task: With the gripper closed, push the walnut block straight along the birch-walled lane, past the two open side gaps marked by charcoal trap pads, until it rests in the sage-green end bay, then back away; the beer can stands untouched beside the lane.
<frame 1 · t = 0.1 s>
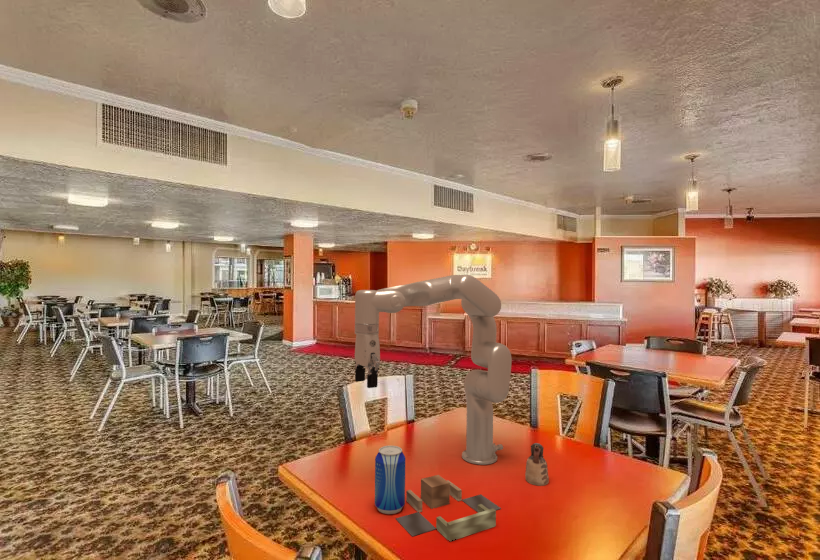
hand: (365, 384, 132), 31 cm above the table, tool pointing down, fingers open, 9 cm apart
figurine: (536, 481, 135), on the table
walnut block: (434, 502, 121), on the table
beer can: (389, 508, 117), on the table
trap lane: (449, 513, 115), on the table
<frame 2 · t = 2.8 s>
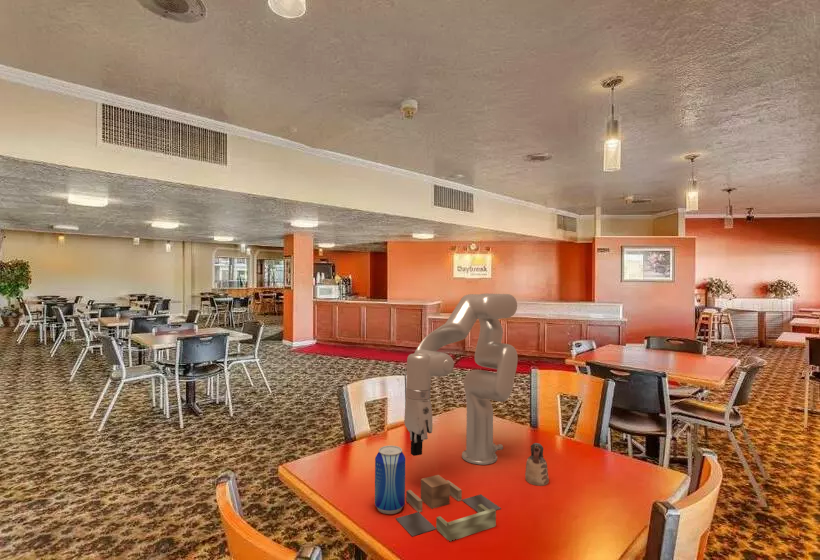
hand: (416, 454, 130), 10 cm above the table, tool pointing down, fingers closed
nothing on the table moved.
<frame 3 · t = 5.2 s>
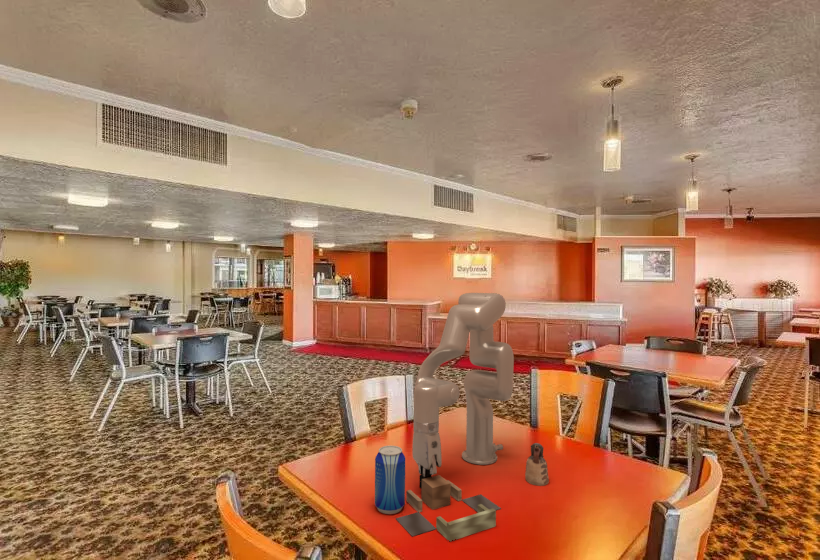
hand: (425, 488, 126), 2 cm above the table, tool pointing down, fingers closed
walnut block: (435, 502, 121), on the table, touching gripper
everything else where it was.
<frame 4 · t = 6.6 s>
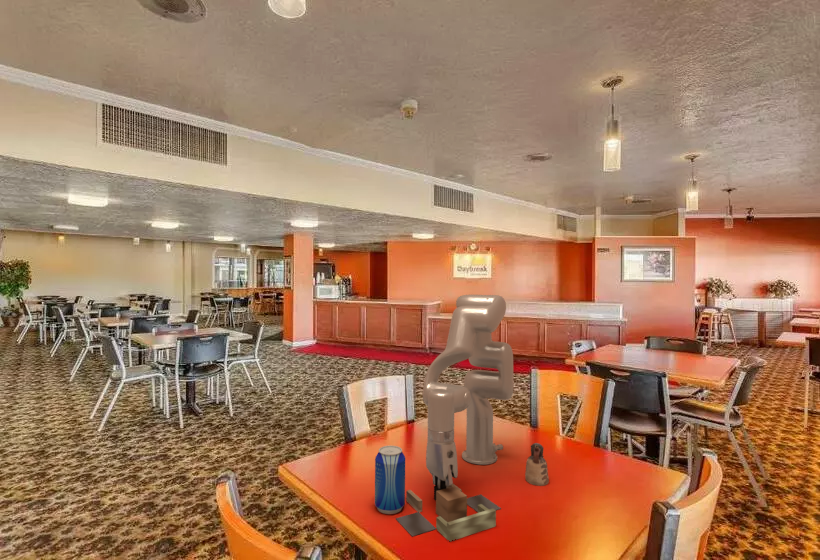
hand: (440, 500, 119), 2 cm above the table, tool pointing down, fingers closed
walnut block: (451, 515, 114), on the table, touching gripper
everything else where it was.
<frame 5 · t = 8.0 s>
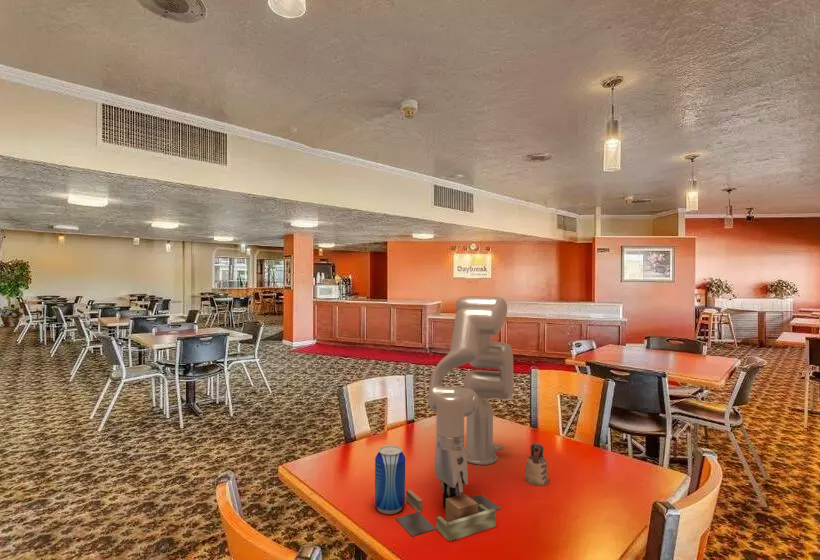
hand: (449, 507, 115), 2 cm above the table, tool pointing down, fingers closed
walnut block: (461, 524, 110), on the table, touching gripper
everything else where it was.
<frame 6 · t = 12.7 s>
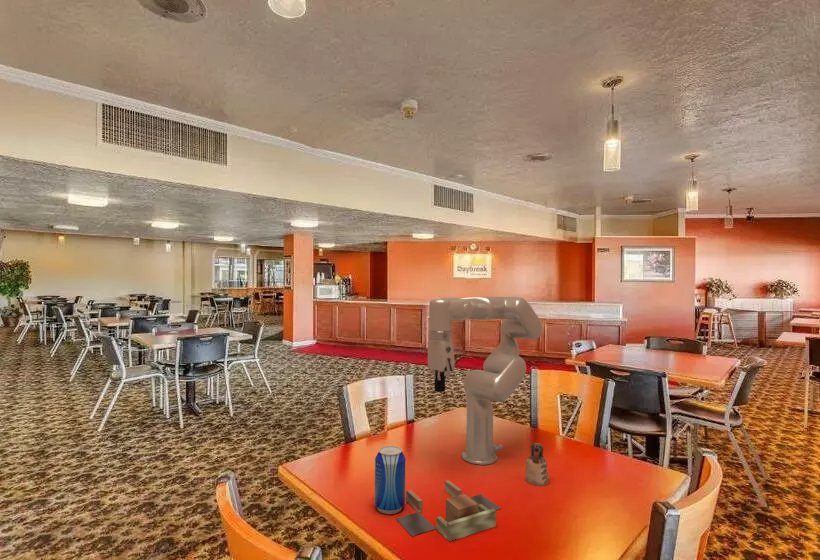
hand: (439, 391, 140), 27 cm above the table, tool pointing down, fingers closed
walnut block: (461, 524, 109), on the table
everything else where it was.
at the end: walnut block inside the target area on the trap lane (1.7 cm from its centre), point 0.0 cm above the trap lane's base; walnut block tilted 0° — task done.
